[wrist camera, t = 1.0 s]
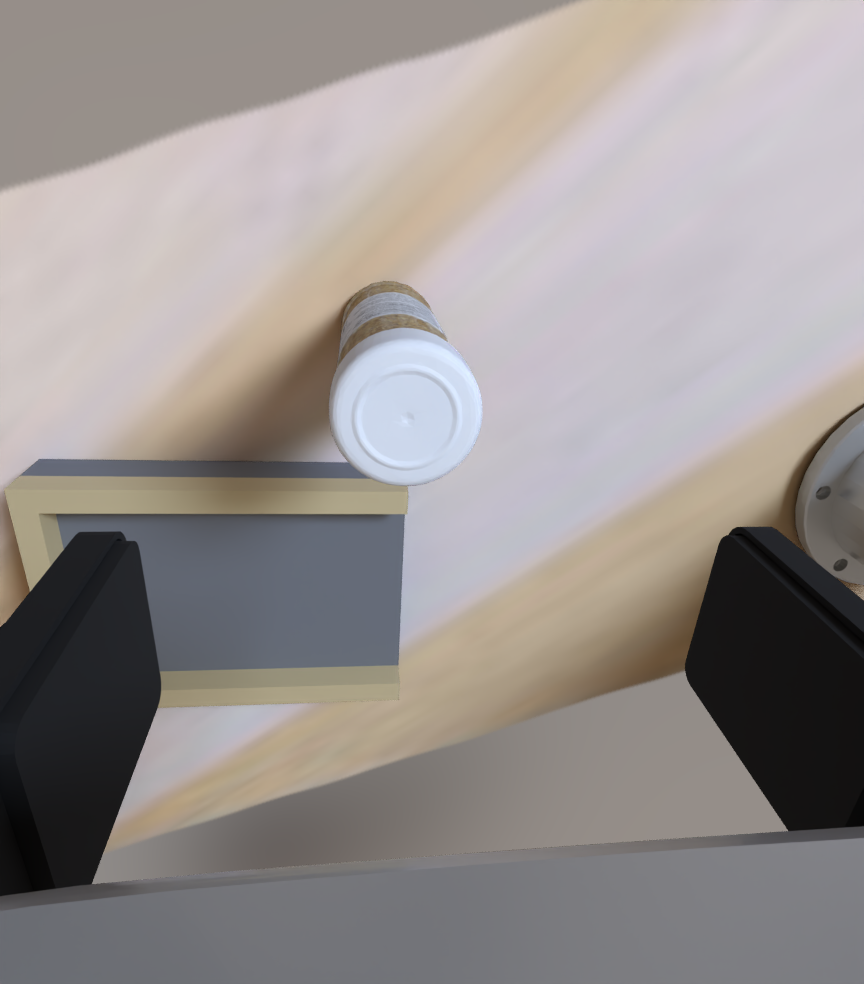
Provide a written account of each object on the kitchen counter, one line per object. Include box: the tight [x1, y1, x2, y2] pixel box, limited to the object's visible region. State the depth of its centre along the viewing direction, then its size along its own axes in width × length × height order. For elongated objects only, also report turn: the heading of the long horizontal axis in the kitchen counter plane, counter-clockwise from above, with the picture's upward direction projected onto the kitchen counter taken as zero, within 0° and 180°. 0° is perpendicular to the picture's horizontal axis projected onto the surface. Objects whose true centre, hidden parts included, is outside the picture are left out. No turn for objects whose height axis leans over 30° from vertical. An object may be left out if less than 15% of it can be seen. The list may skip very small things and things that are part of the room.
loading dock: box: [4, 459, 408, 708], centre depth 34 cm, size 18×13×4 cm
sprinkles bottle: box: [329, 281, 482, 486], centre depth 24 cm, size 5×5×13 cm
